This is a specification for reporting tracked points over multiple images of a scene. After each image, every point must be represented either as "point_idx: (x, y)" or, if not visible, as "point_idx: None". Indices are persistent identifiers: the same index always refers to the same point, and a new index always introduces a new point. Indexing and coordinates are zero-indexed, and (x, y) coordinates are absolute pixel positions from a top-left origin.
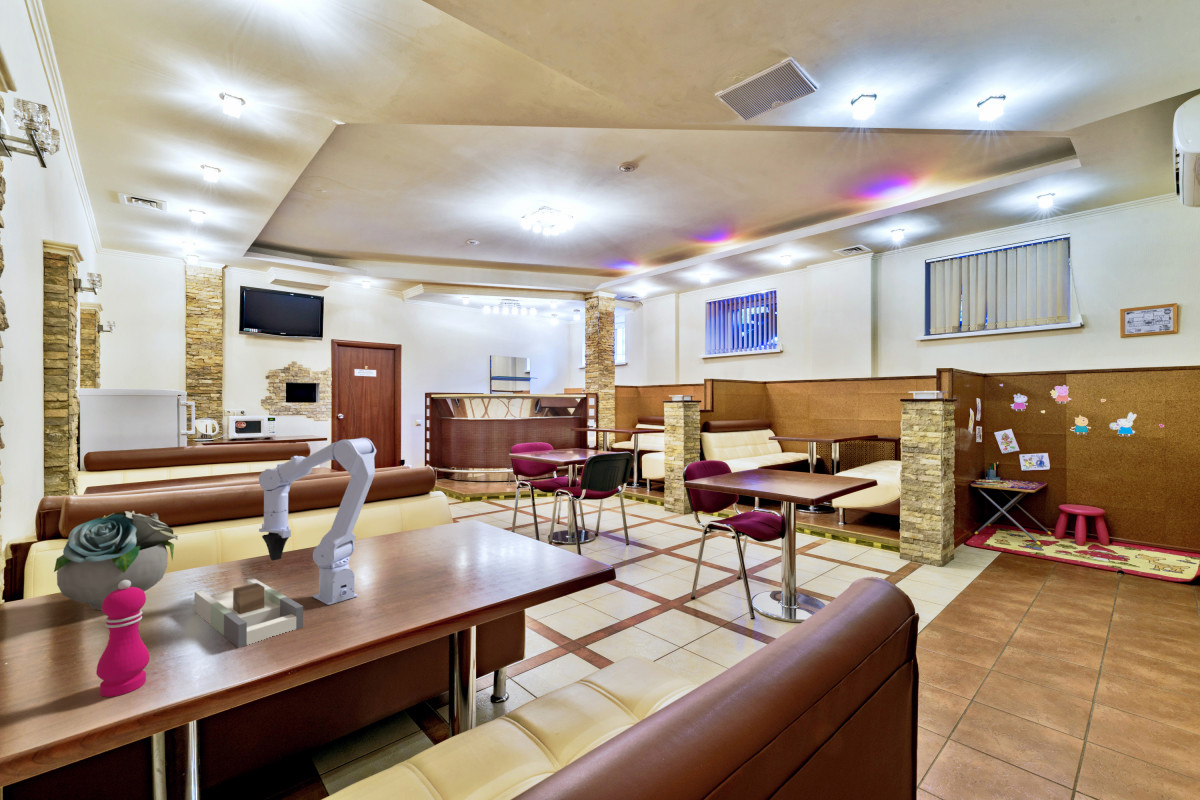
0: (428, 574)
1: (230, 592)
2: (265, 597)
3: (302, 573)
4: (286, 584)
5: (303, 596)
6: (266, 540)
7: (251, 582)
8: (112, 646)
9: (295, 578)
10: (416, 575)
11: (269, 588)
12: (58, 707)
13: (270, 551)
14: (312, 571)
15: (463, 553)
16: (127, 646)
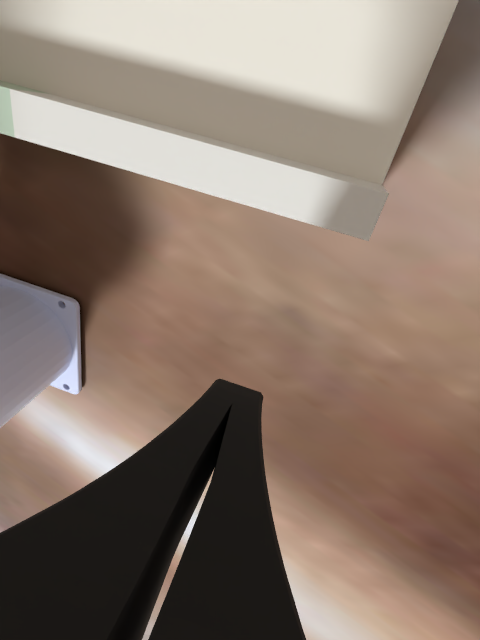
0: (17, 513)
1: (391, 21)
2: (43, 92)
3: (403, 497)
4: (343, 385)
5: (123, 297)
6: (159, 622)
7: (283, 164)
8: None
9: (375, 448)
10: (32, 506)
11: (20, 126)
12: None
13: (189, 439)
14: (378, 517)
15: None
16: None
